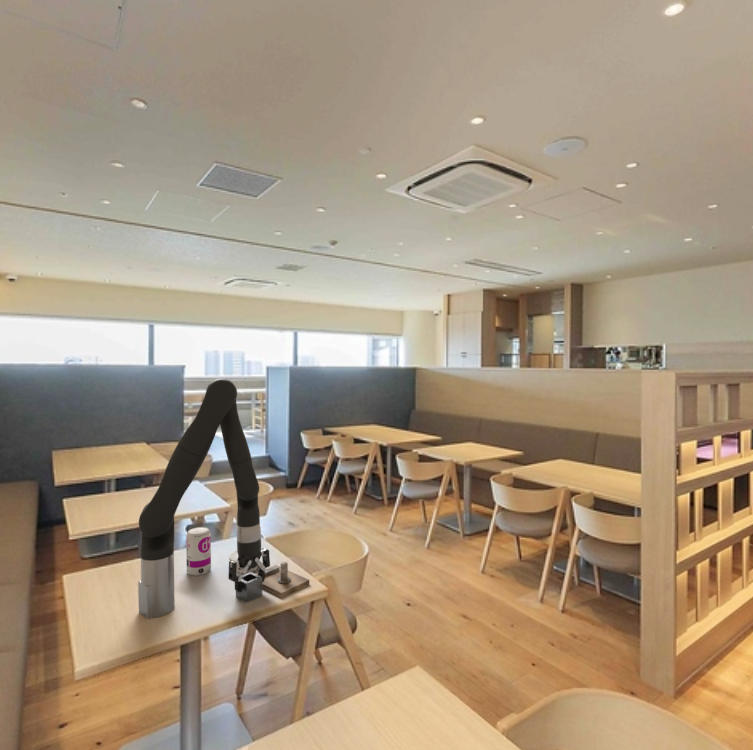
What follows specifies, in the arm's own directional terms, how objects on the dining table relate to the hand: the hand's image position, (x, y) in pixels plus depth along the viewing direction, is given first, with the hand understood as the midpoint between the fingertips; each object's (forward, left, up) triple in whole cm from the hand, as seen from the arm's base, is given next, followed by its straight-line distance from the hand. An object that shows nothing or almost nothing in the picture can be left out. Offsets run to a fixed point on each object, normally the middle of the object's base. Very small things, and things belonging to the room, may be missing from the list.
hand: (250, 586), depth 155 cm
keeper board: (+12, 0, -3) cm, 12 cm away
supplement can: (-1, +29, -3) cm, 29 cm away
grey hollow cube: (0, 0, -3) cm, 3 cm away
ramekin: (+11, +18, -3) cm, 21 cm away
